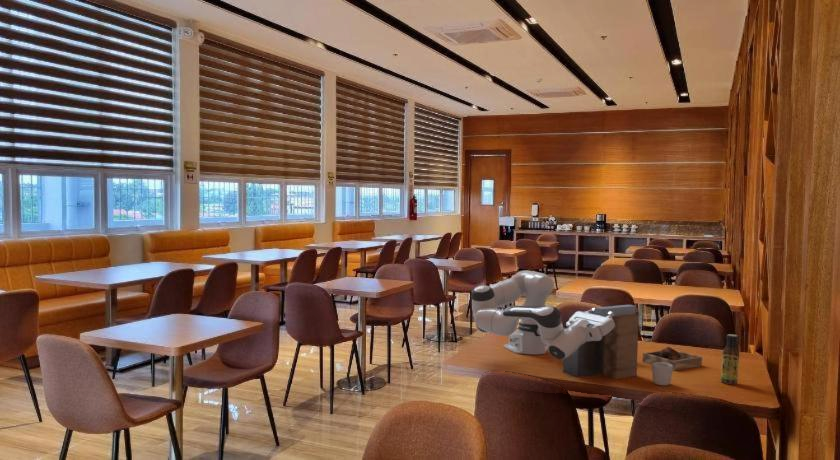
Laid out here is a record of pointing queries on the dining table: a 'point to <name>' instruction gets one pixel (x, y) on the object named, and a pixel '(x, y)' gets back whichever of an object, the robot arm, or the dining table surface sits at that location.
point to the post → (622, 347)
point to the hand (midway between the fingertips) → (603, 311)
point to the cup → (662, 373)
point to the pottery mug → (668, 353)
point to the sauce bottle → (730, 361)
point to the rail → (616, 310)
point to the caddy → (683, 363)
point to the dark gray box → (586, 359)
